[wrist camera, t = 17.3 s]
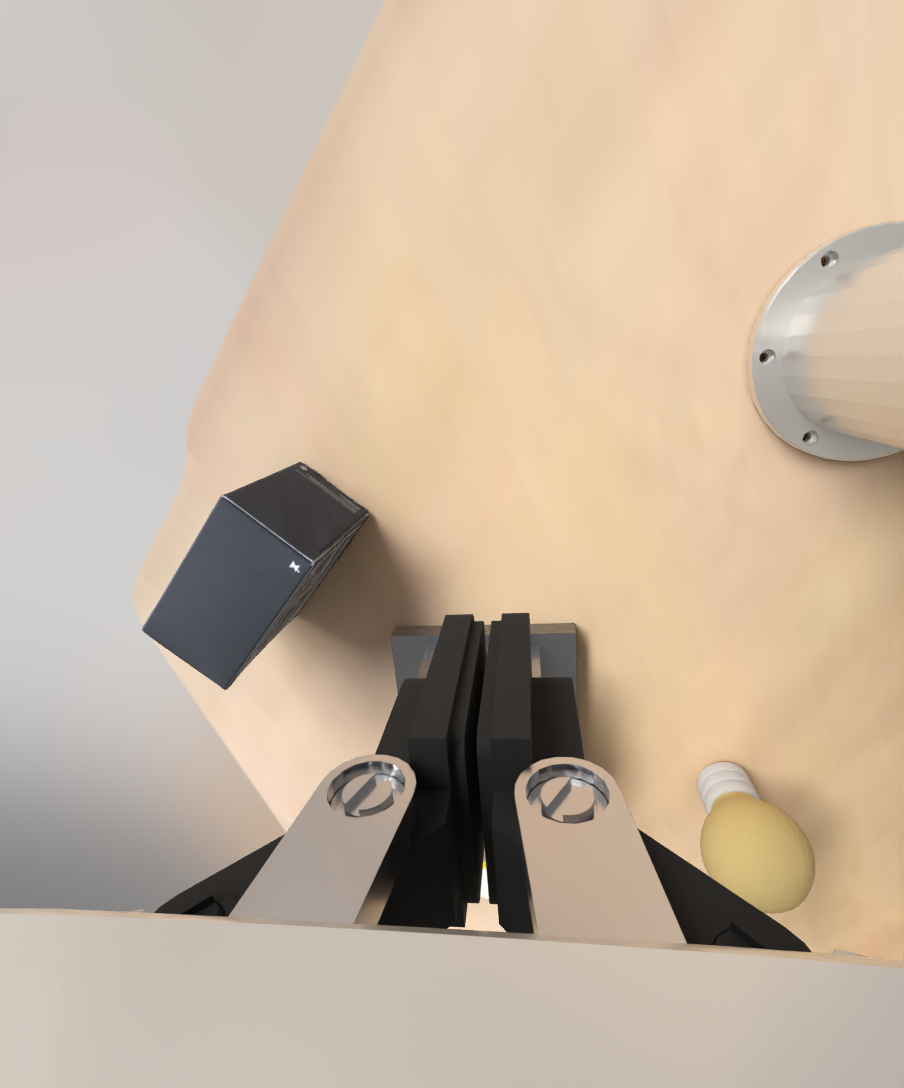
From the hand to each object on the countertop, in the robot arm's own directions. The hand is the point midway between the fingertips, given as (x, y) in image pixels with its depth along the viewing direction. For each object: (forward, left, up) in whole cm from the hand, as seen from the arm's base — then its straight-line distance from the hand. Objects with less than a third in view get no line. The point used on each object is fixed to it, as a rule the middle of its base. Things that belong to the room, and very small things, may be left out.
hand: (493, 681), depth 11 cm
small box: (+16, +5, -27) cm, 32 cm away
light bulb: (-14, +25, -27) cm, 40 cm away
